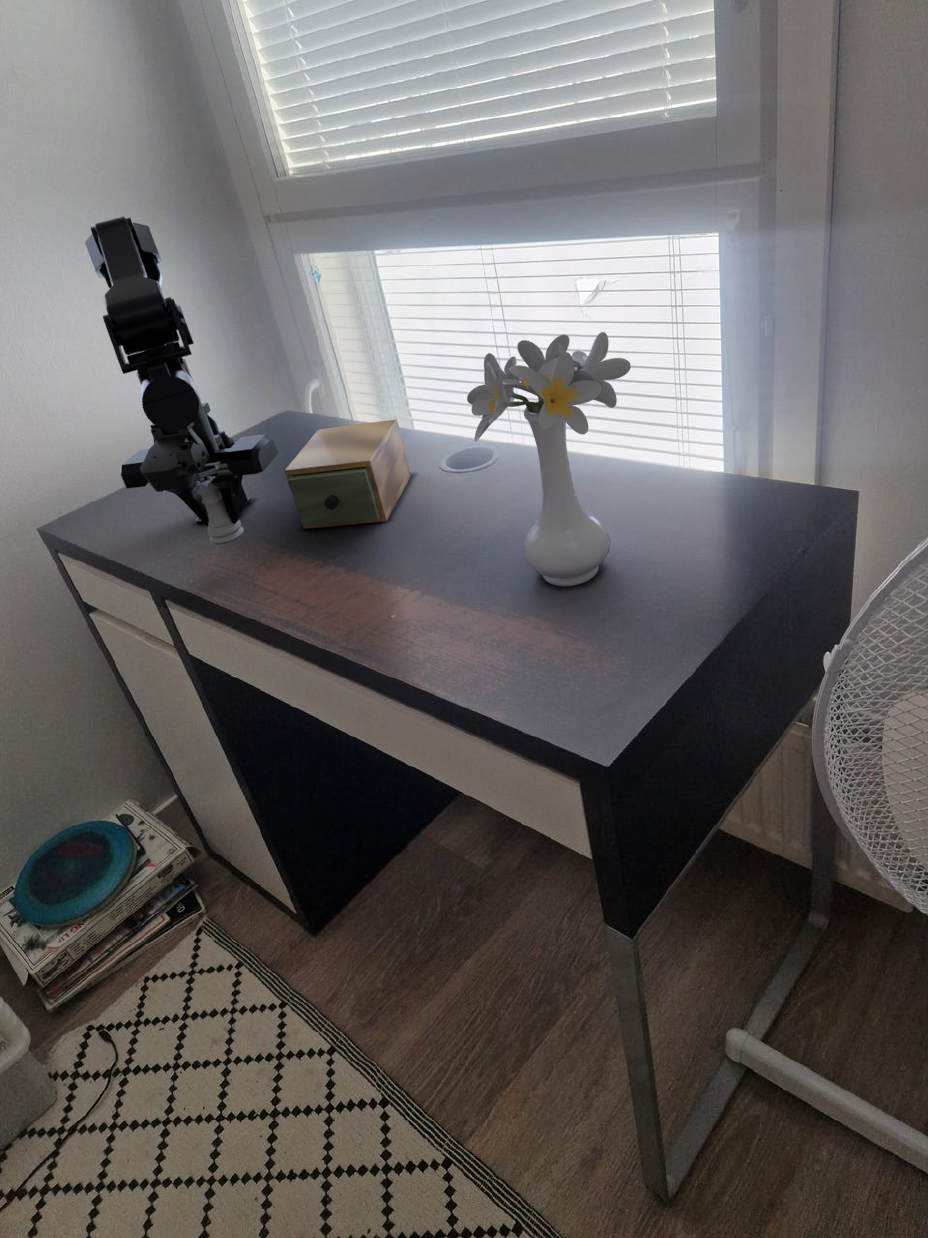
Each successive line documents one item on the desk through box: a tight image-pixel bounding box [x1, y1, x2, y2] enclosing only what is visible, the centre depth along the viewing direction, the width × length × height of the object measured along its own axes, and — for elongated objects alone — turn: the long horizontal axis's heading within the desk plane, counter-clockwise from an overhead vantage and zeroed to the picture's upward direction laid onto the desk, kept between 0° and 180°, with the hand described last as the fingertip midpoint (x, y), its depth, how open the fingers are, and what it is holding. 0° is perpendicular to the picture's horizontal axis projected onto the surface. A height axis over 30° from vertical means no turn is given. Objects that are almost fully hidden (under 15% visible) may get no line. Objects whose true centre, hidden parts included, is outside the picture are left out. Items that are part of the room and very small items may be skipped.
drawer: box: [287, 467, 381, 528], centre depth 117 cm, size 14×11×7 cm
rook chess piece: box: [196, 476, 245, 546], centre depth 107 cm, size 4×4×8 cm
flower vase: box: [466, 331, 632, 587], centre depth 87 cm, size 13×18×25 cm
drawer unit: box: [284, 419, 412, 530], centre depth 119 cm, size 14×12×9 cm
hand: (222, 523), depth 108 cm, fingers closed on rook chess piece, 3 cm apart
